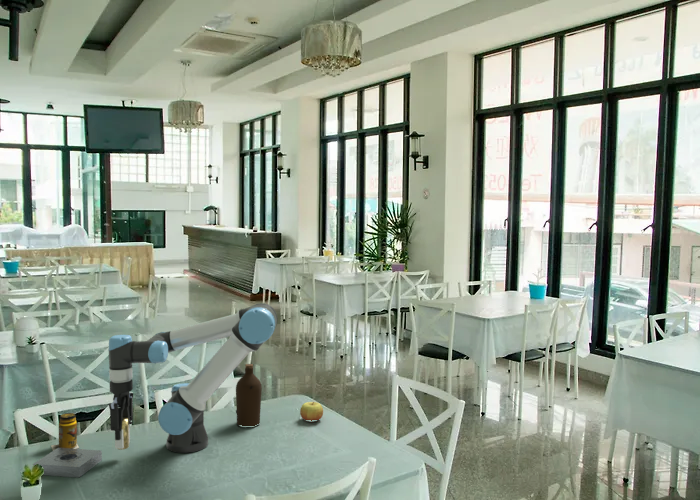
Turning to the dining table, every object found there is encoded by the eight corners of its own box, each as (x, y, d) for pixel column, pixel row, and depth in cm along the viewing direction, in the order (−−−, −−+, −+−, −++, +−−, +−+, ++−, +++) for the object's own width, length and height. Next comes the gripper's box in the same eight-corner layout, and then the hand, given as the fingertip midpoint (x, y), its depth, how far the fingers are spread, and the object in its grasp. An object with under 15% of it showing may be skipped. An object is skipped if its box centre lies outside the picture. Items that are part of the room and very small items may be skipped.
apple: (327, 418, 258) (327, 400, 257) (316, 425, 249) (317, 406, 248) (306, 415, 262) (307, 397, 261) (295, 422, 253) (296, 403, 252)
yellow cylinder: (130, 445, 212) (130, 417, 212) (125, 449, 208) (124, 421, 208) (120, 445, 213) (119, 417, 212) (114, 449, 209) (113, 421, 208)
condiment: (79, 448, 220) (79, 416, 219) (53, 453, 215) (53, 420, 214) (75, 441, 226) (75, 410, 225) (50, 446, 221) (50, 414, 220)
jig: (101, 460, 210) (101, 450, 209) (79, 477, 196) (79, 467, 195) (58, 457, 211) (58, 447, 211) (33, 474, 197) (33, 463, 197)
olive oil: (266, 423, 250) (267, 364, 248) (247, 430, 241) (248, 369, 240) (249, 418, 256) (250, 360, 255) (229, 424, 248) (230, 364, 247)
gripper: (122, 373, 218) (124, 436, 219) (98, 386, 201) (99, 454, 203) (142, 373, 217) (143, 437, 219) (119, 387, 200) (121, 455, 202)
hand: (122, 445), depth 211 cm, fingers closed on yellow cylinder, 4 cm apart
